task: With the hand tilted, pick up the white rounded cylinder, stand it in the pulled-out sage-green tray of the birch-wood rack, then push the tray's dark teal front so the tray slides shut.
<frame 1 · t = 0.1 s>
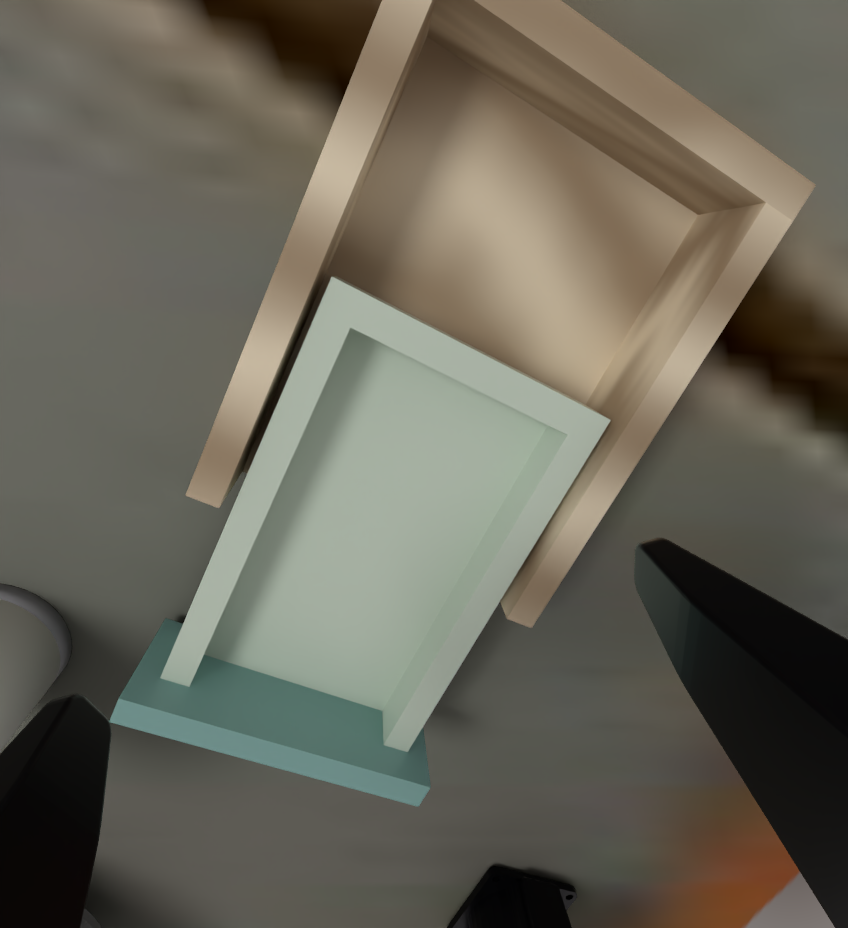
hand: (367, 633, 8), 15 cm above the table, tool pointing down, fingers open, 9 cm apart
tray: (369, 554, 22), point 3 cm above the table, slide at 8.0 cm
white rounded cylinder: (2, 639, 25), on the table
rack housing: (454, 353, 23), on the table
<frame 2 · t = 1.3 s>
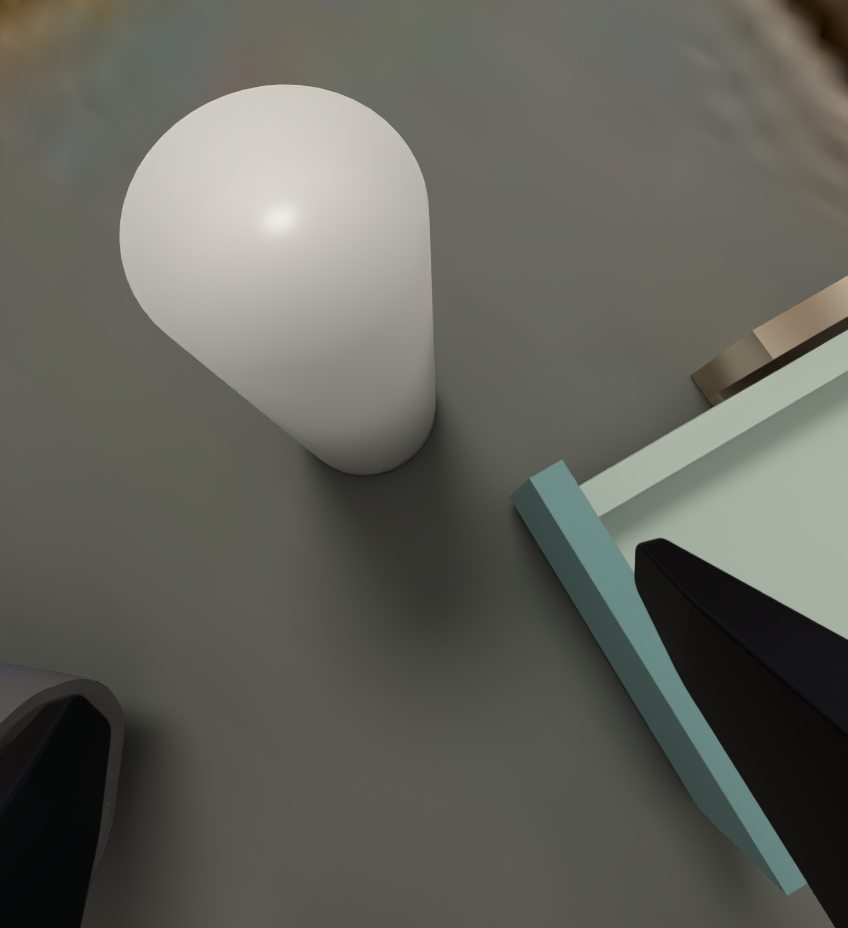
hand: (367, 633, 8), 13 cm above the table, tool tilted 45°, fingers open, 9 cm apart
tray: (844, 520, 19), point 3 cm above the table, slide at 8.0 cm
white rounded cylinder: (366, 407, 23), on the table
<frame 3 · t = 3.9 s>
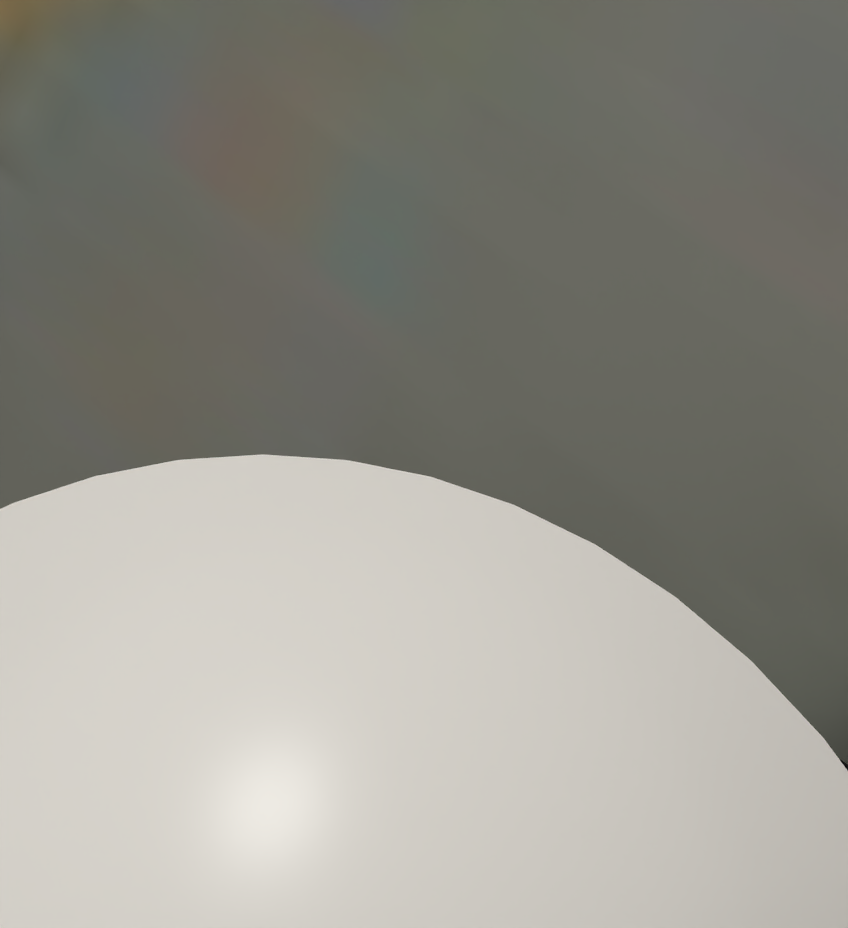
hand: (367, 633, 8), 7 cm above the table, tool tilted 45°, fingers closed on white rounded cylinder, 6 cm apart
white rounded cylinder: (411, 650, 15), on the table, touching gripper
when the fingers open (10 cm above the table, at t = 8.2 s): white rounded cylinder drops 1 cm, resting on tray.
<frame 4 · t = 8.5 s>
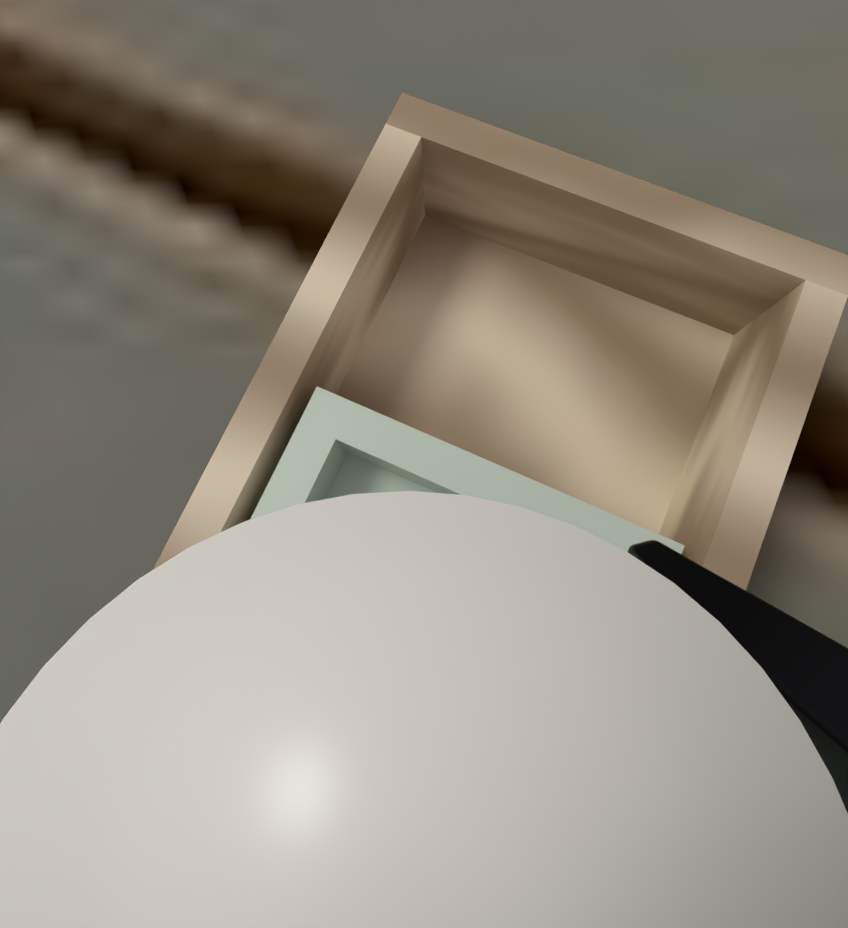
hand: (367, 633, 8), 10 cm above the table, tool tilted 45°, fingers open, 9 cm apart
tray: (359, 770, 15), point 3 cm above the table, slide at 7.9 cm, touching white rounded cylinder
white rounded cylinder: (412, 643, 16), point 2 cm above the table, touching tray
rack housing: (475, 499, 19), on the table
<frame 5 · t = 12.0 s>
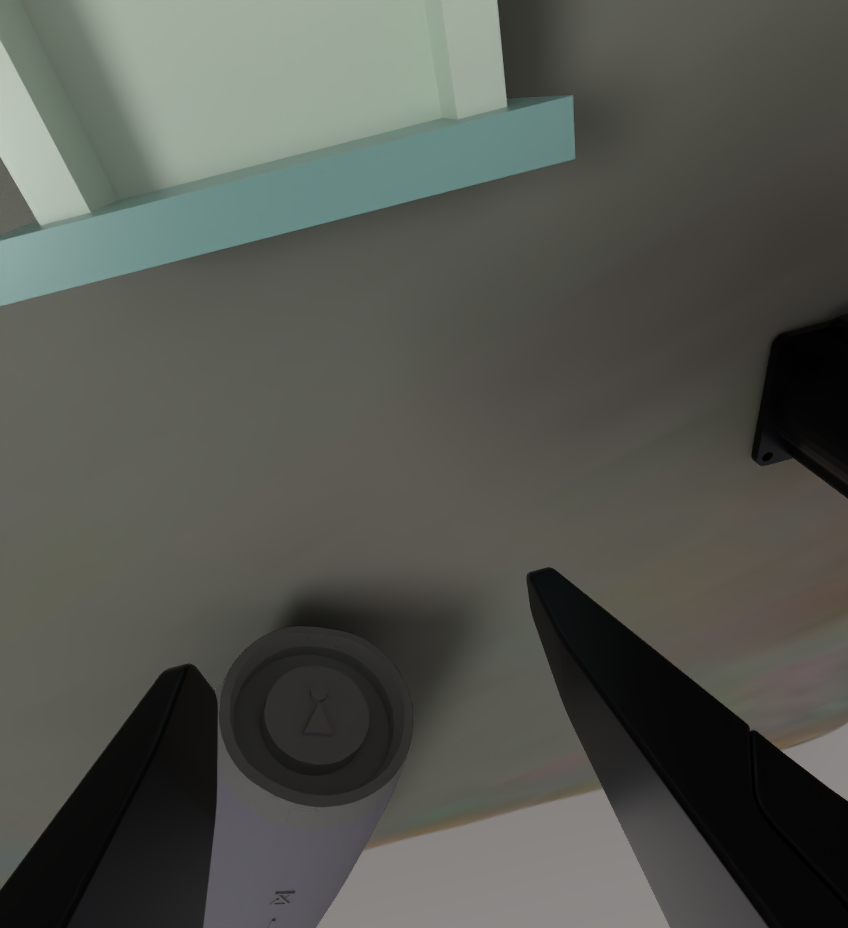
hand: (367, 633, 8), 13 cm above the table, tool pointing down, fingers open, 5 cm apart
bluetooth speaker: (273, 730, 32), on the table
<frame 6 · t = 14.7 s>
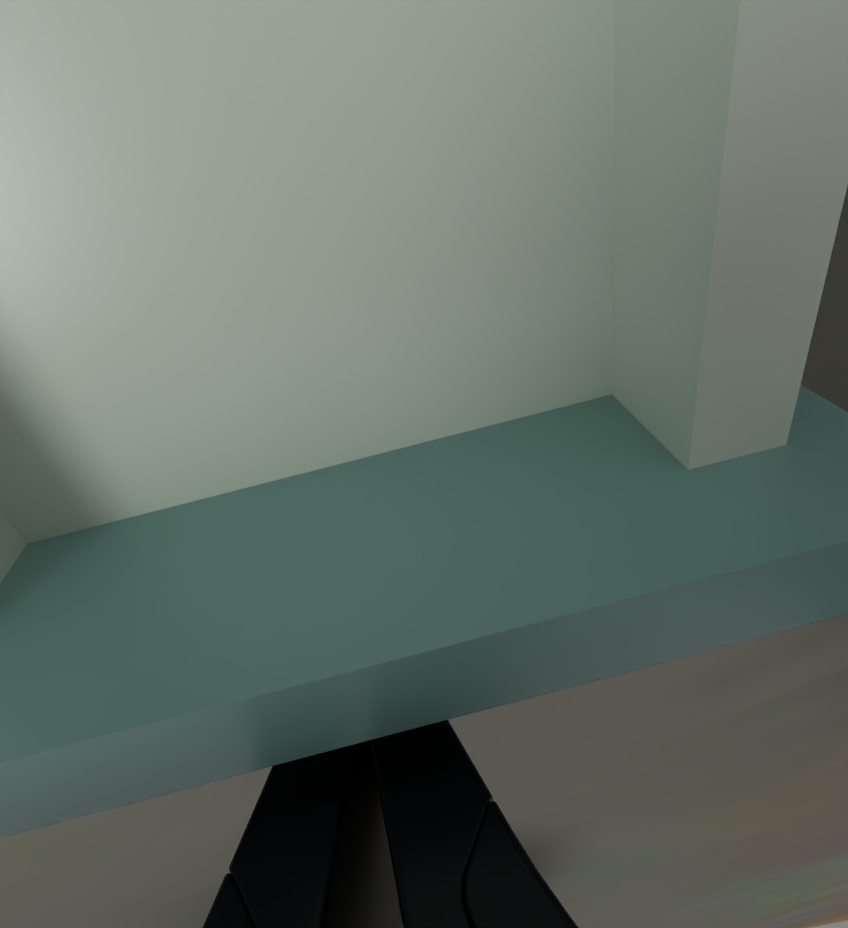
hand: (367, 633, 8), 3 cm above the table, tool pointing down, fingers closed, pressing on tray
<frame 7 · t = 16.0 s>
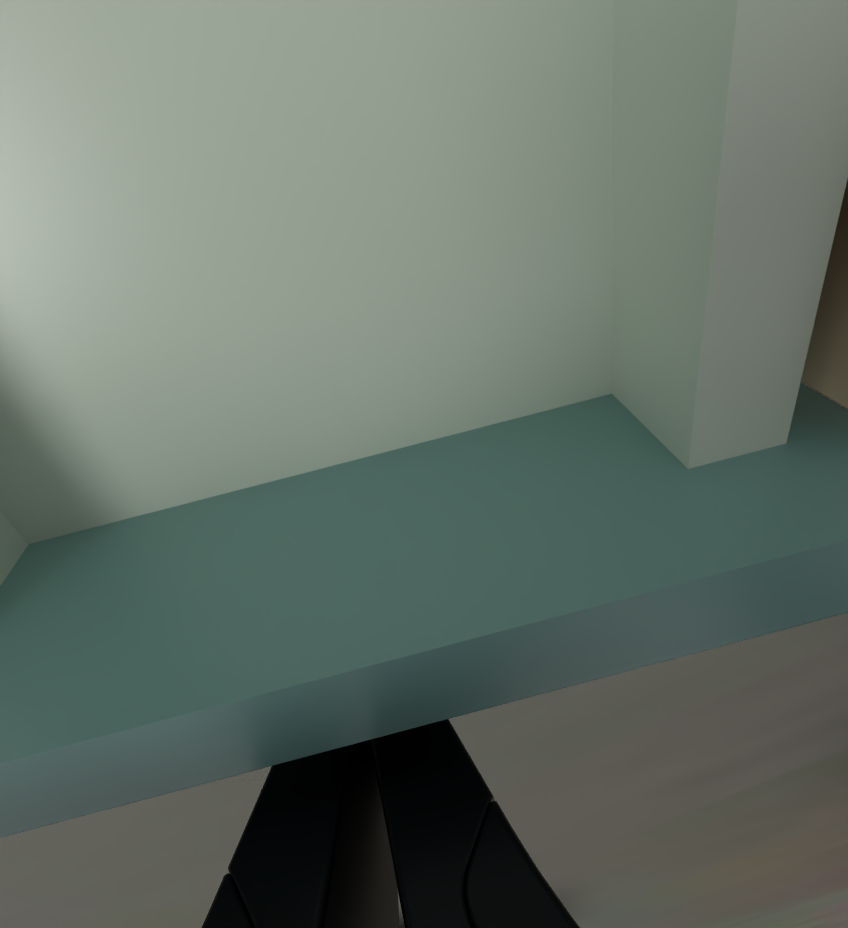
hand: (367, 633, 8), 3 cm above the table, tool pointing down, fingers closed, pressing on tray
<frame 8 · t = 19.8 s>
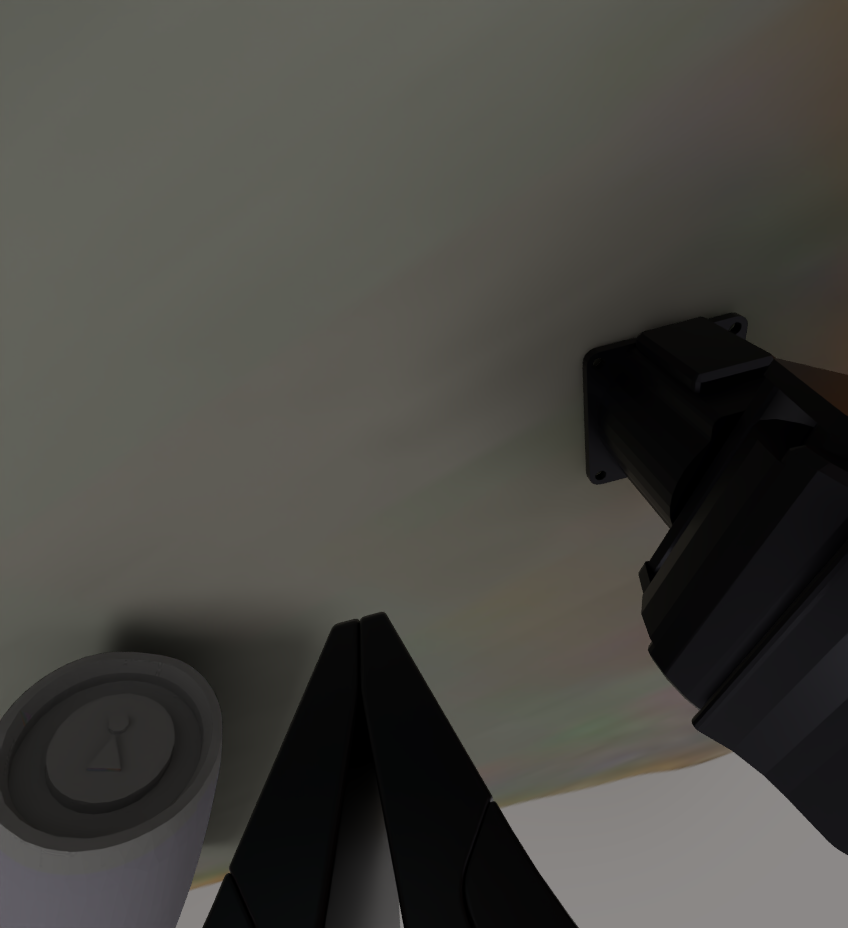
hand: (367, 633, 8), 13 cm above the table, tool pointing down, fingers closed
bluetooth speaker: (130, 753, 31), on the table
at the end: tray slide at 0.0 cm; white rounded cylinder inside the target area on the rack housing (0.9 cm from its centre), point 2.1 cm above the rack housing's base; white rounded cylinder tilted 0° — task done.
